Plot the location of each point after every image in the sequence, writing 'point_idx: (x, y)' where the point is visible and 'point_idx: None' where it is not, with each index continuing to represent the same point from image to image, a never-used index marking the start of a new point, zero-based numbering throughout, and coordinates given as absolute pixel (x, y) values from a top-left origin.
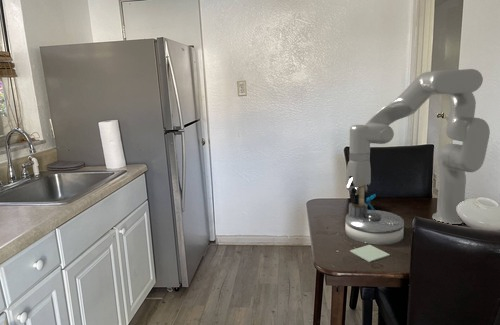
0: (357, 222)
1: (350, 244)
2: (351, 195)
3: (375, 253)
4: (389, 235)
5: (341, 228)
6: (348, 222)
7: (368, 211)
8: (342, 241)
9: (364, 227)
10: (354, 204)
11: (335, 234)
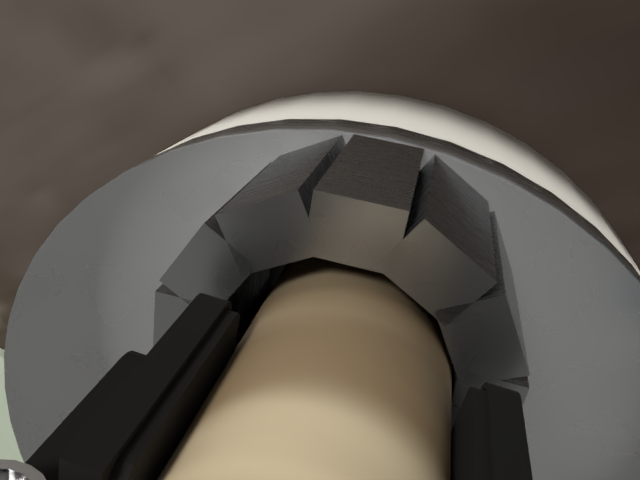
0: (86, 355)
1: (12, 270)
2: (102, 416)
3: (2, 455)
4: None
5: (278, 35)
6: (39, 256)
7: (594, 370)
8: (9, 193)
9: (21, 444)
10: (244, 336)
11: (88, 61)
